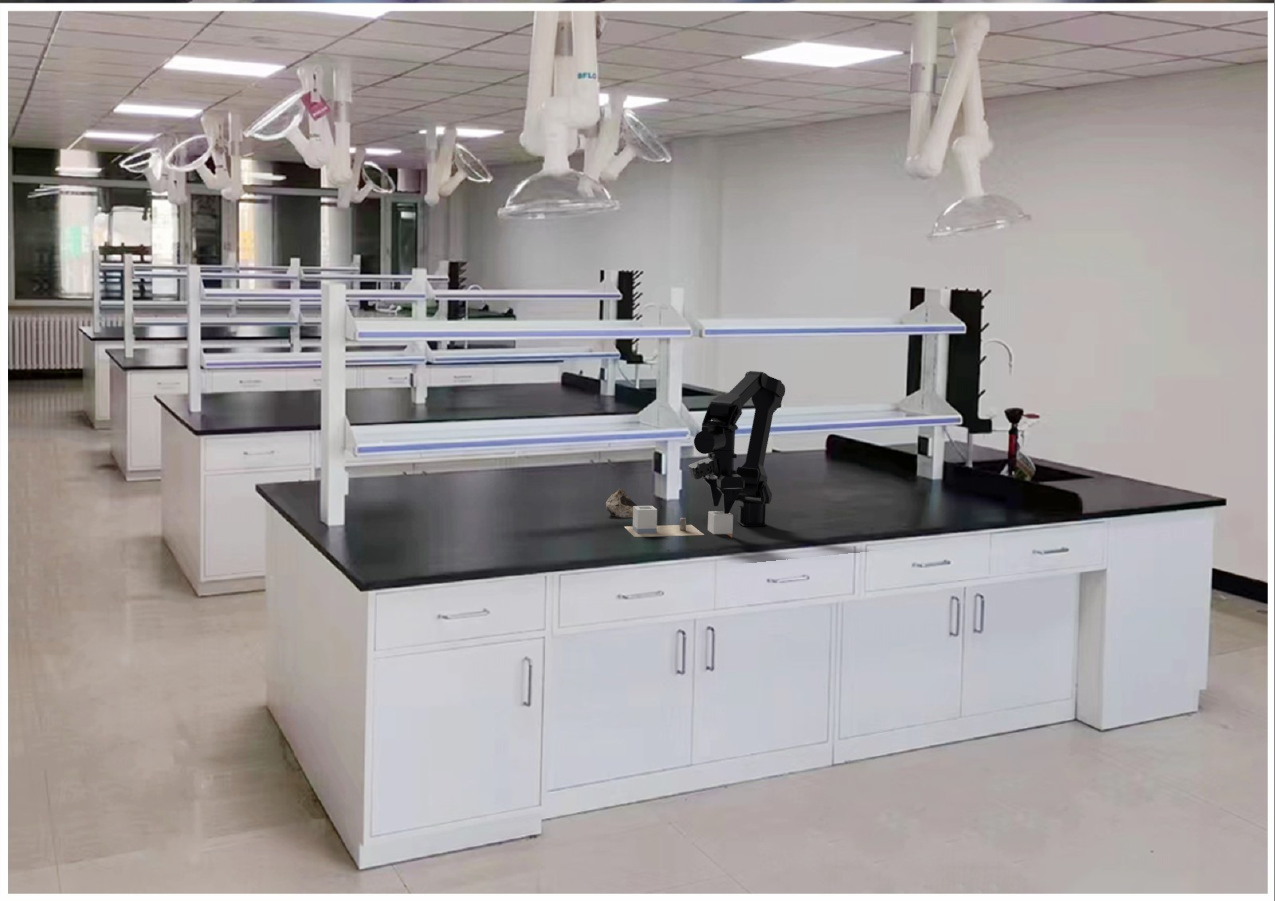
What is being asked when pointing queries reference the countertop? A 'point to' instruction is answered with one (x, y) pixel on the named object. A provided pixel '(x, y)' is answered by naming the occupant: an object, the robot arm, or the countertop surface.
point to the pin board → (669, 530)
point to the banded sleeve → (720, 522)
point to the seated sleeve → (644, 519)
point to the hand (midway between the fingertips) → (720, 509)
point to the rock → (620, 505)
